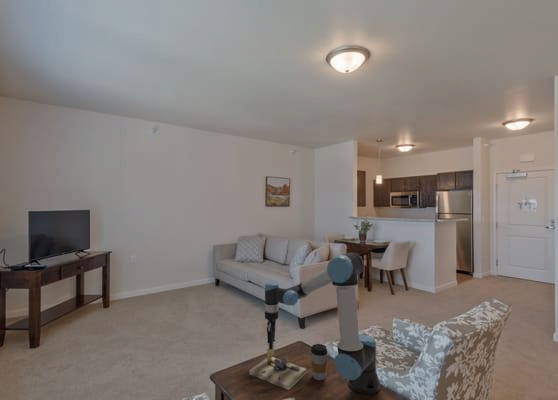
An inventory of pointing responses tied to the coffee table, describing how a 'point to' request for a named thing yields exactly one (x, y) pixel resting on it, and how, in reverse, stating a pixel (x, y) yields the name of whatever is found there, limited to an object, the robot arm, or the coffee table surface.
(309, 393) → the coffee table surface
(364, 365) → the robot arm
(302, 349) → the coffee table surface
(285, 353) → the coffee table surface
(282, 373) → the lever board
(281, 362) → the grey round handled piece
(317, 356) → the coffee cup
